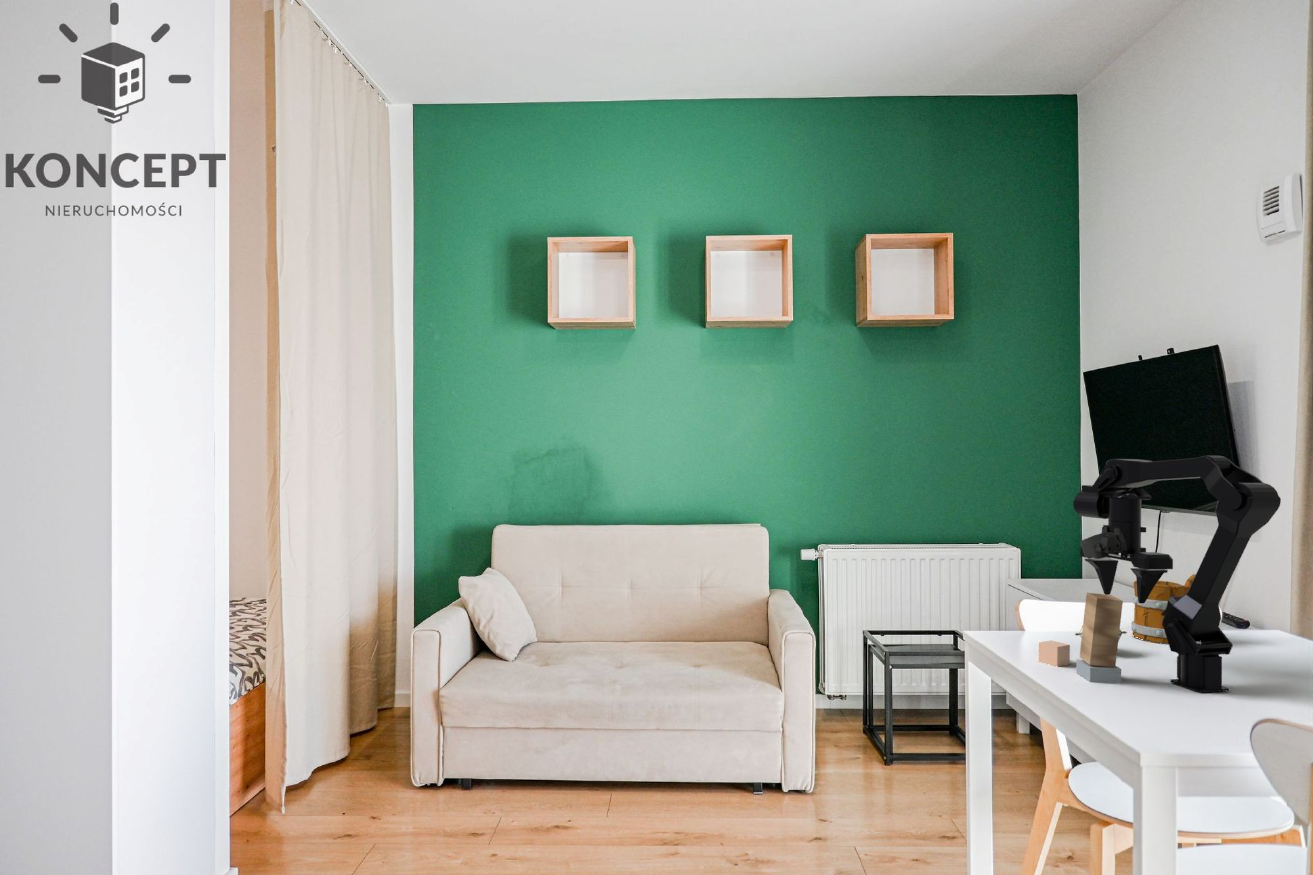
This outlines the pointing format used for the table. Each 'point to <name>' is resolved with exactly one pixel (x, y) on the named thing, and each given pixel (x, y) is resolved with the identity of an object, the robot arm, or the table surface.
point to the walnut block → (1101, 629)
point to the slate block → (1098, 673)
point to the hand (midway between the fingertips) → (1123, 598)
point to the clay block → (1054, 653)
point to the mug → (1155, 610)
